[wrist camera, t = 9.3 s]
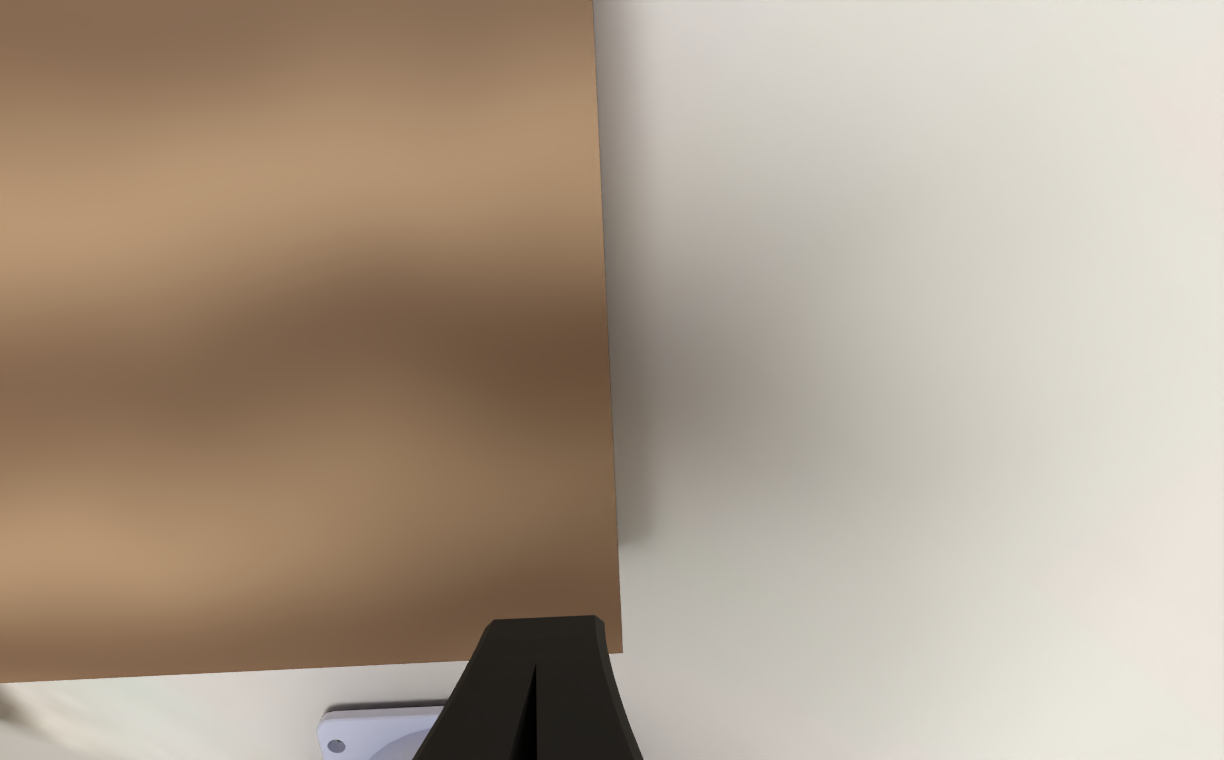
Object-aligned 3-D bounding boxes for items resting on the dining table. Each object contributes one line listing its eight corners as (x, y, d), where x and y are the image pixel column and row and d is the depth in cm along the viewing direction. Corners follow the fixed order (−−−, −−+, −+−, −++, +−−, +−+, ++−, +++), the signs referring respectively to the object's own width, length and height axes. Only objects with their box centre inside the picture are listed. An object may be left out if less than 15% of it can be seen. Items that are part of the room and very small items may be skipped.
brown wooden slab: (617, 548, 21) (623, 653, 18) (-49, 580, 21) (-184, 691, 17) (590, -33, 16) (589, -59, 12) (-304, 7, 16) (-578, -7, 12)
